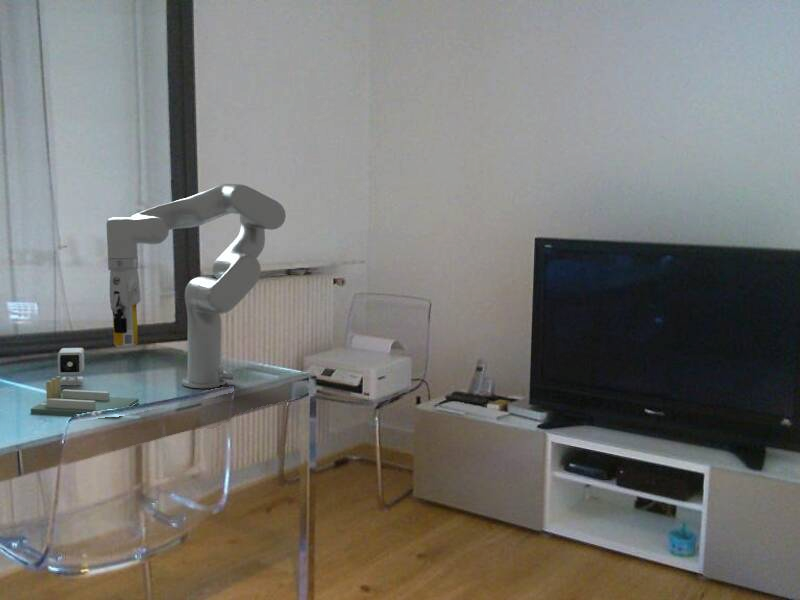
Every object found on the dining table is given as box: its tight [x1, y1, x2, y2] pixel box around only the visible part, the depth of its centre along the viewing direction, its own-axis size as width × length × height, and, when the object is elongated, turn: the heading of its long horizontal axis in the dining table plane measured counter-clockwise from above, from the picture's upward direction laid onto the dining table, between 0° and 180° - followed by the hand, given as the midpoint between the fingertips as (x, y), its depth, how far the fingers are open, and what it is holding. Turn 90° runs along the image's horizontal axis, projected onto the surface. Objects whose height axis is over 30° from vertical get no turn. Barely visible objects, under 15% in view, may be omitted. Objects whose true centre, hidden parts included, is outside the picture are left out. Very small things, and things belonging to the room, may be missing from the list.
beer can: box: [112, 294, 139, 349], centre depth 211 cm, size 6×6×15 cm
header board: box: [30, 375, 140, 417], centre depth 202 cm, size 22×14×7 cm, turn 88°
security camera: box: [57, 347, 85, 387], centre depth 224 cm, size 6×7×10 cm
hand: (125, 329), depth 212 cm, fingers closed on beer can, 6 cm apart
